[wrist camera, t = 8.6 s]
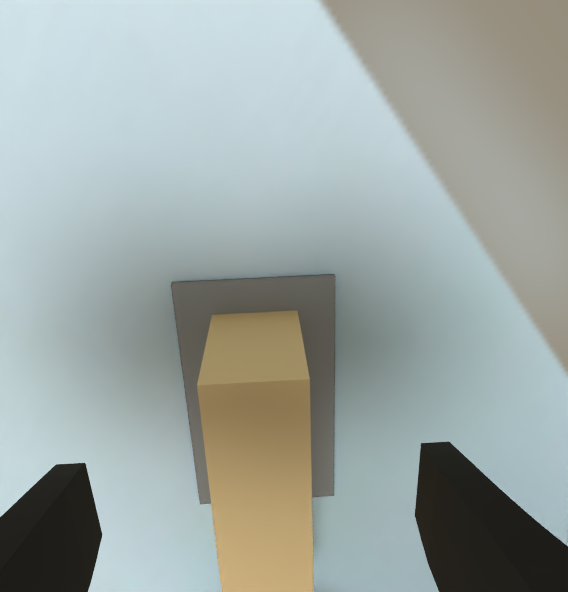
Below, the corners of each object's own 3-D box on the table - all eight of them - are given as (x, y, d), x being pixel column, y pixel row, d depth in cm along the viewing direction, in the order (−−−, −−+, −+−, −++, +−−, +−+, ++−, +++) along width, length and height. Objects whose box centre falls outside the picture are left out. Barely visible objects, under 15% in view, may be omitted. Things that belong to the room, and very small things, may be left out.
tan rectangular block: (298, 310, 17) (311, 379, 13) (305, 556, 22) (316, 664, 18) (210, 314, 17) (195, 385, 13) (235, 560, 22) (229, 671, 18)
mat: (334, 274, 17) (335, 276, 17) (333, 491, 21) (333, 495, 21) (171, 282, 17) (170, 284, 17) (200, 500, 21) (200, 504, 20)
